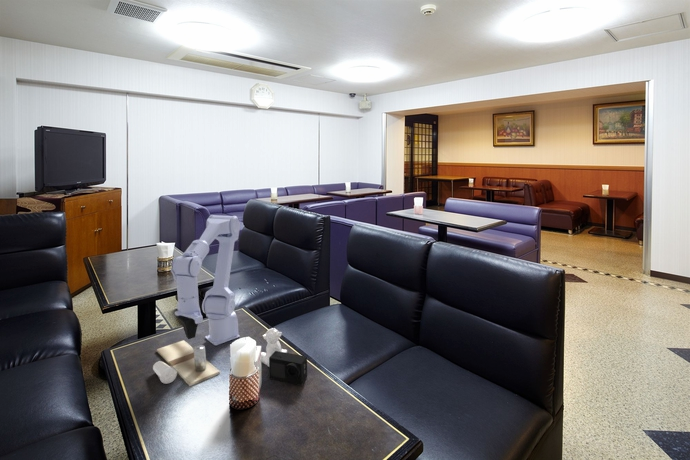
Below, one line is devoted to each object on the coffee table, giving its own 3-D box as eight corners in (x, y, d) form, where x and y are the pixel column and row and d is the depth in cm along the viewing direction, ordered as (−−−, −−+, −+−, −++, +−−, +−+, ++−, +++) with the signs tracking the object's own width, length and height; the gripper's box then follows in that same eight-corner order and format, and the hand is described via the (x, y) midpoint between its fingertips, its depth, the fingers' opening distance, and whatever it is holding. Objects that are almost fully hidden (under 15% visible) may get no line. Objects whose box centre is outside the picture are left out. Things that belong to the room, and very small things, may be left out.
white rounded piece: (171, 360, 116) (184, 371, 109) (158, 376, 114) (171, 388, 107) (160, 353, 114) (172, 364, 107) (147, 369, 112) (159, 381, 105)
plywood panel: (184, 342, 131) (183, 339, 131) (219, 373, 113) (219, 370, 113) (156, 351, 125) (156, 348, 125) (189, 386, 107) (189, 383, 107)
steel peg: (203, 364, 117) (202, 344, 115) (208, 369, 114) (206, 347, 113) (193, 368, 114) (191, 347, 113) (197, 373, 112) (196, 351, 111)
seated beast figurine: (286, 353, 126) (286, 319, 123) (291, 367, 118) (290, 331, 115) (257, 357, 123) (256, 323, 120) (260, 372, 115) (259, 335, 112)
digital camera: (267, 381, 110) (266, 359, 109) (275, 371, 116) (275, 350, 114) (299, 388, 107) (299, 365, 106) (307, 377, 113) (307, 356, 111)
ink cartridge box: (258, 400, 102) (257, 351, 99) (239, 401, 101) (237, 351, 98) (262, 381, 110) (261, 335, 107) (245, 382, 110) (243, 335, 106)
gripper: (165, 292, 115) (168, 333, 118) (184, 306, 105) (187, 350, 108) (188, 286, 120) (191, 326, 123) (208, 299, 110) (211, 342, 113)
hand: (191, 337), depth 116 cm, fingers closed
